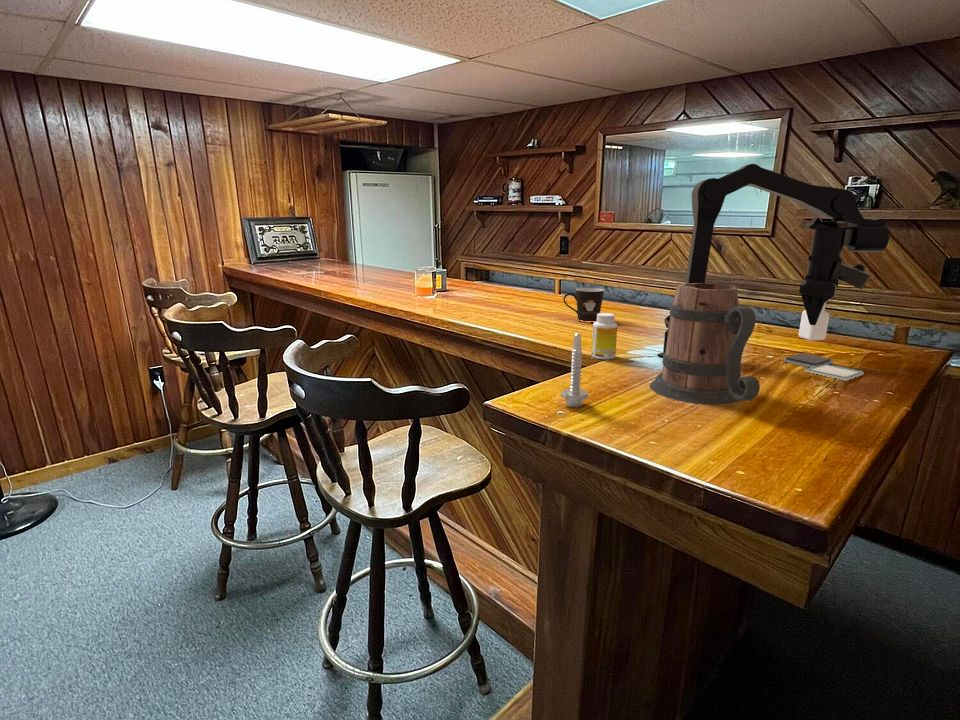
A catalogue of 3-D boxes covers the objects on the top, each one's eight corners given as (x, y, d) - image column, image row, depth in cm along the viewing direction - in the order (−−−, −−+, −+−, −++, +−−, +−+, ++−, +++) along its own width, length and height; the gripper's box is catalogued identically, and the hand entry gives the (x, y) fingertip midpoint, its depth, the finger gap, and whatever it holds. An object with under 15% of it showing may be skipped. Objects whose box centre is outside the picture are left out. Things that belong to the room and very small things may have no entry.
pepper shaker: (826, 340, 117) (834, 297, 115) (810, 341, 116) (817, 297, 114) (812, 336, 121) (819, 294, 118) (796, 337, 120) (803, 295, 118)
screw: (580, 399, 96) (593, 408, 92) (555, 401, 95) (567, 411, 91) (583, 329, 93) (597, 334, 88) (558, 330, 92) (571, 336, 87)
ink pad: (815, 369, 115) (816, 364, 115) (782, 362, 121) (783, 357, 120) (832, 363, 120) (833, 358, 119) (800, 357, 125) (800, 352, 125)
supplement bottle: (620, 359, 124) (623, 315, 121) (599, 361, 122) (602, 317, 119) (606, 353, 129) (609, 311, 126) (586, 355, 127) (588, 313, 124)
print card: (846, 381, 107) (846, 377, 107) (804, 371, 113) (804, 368, 113) (863, 374, 111) (863, 371, 111) (821, 366, 118) (822, 363, 118)
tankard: (633, 379, 108) (641, 281, 103) (707, 374, 112) (718, 278, 106) (704, 421, 86) (718, 298, 81) (793, 413, 89) (813, 295, 84)
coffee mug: (606, 320, 169) (608, 289, 167) (596, 324, 162) (598, 292, 160) (571, 316, 175) (573, 286, 173) (561, 321, 168) (562, 289, 166)
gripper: (872, 255, 102) (856, 335, 106) (872, 250, 117) (858, 320, 121) (805, 252, 108) (792, 328, 112) (813, 248, 123) (801, 315, 127)
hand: (813, 323), depth 118 cm, fingers closed on pepper shaker, 5 cm apart
